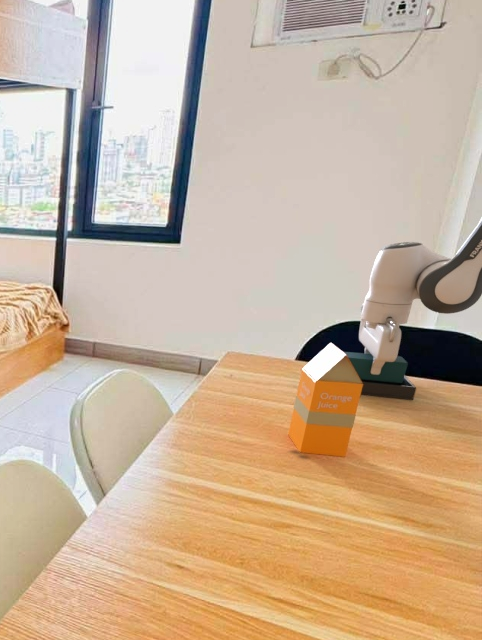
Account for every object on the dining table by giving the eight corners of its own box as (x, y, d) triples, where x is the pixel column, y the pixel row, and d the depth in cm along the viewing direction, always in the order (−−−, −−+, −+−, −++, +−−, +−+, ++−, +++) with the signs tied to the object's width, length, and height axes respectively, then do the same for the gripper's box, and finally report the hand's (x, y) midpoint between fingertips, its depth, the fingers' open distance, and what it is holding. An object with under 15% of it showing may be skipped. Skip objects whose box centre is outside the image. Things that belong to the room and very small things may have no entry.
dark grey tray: (401, 387, 154) (404, 375, 153) (412, 400, 145) (416, 387, 144) (323, 379, 160) (326, 368, 159) (330, 391, 152) (333, 379, 151)
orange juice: (299, 452, 120) (321, 352, 114) (287, 434, 128) (307, 340, 122) (346, 457, 118) (371, 355, 111) (331, 438, 126) (354, 342, 119)
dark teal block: (396, 376, 152) (401, 356, 150) (402, 383, 147) (408, 362, 145) (337, 370, 156) (341, 351, 155) (341, 377, 152) (346, 357, 150)
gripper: (414, 324, 136) (398, 384, 141) (390, 305, 154) (376, 359, 158) (379, 321, 139) (364, 380, 143) (359, 303, 156) (347, 357, 161)
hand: (370, 369), depth 151 cm, fingers closed on dark teal block, 5 cm apart
